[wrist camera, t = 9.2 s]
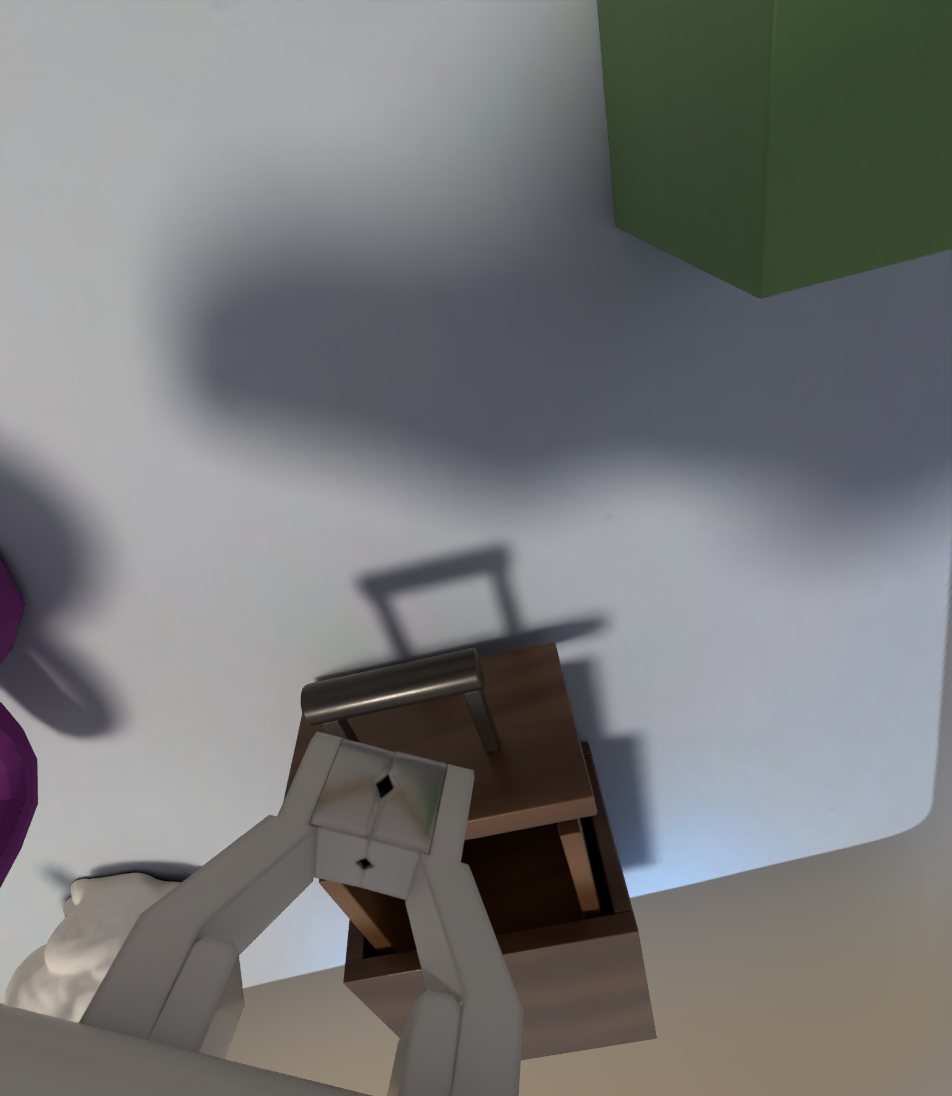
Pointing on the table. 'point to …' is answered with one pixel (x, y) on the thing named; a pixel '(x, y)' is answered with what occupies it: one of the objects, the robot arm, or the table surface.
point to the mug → (13, 746)
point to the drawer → (477, 779)
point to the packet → (781, 133)
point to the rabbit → (83, 944)
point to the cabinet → (543, 965)
